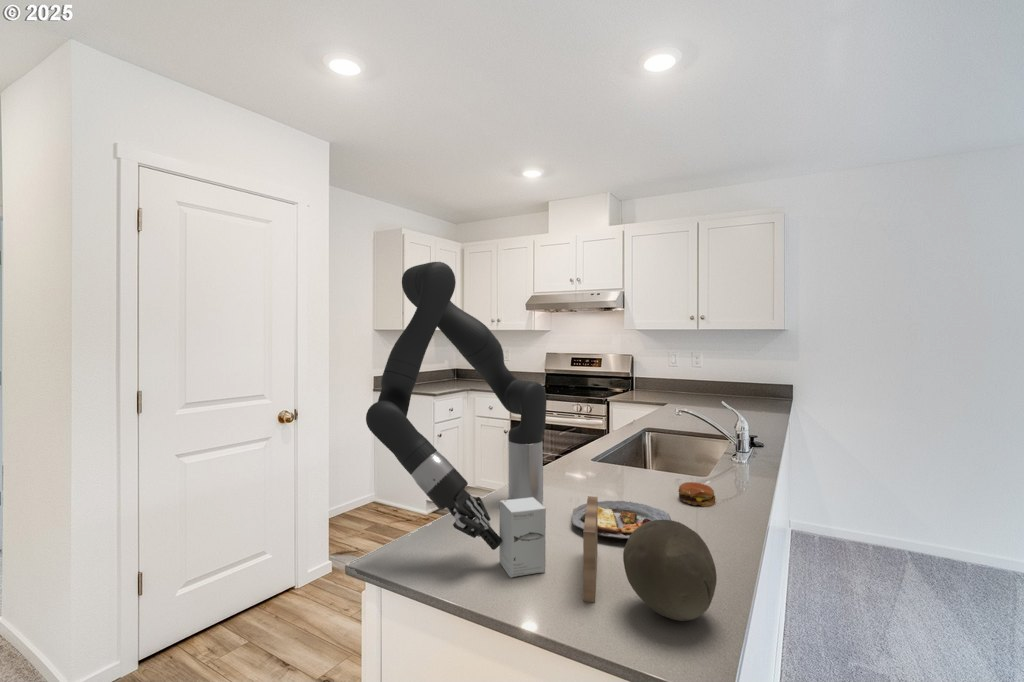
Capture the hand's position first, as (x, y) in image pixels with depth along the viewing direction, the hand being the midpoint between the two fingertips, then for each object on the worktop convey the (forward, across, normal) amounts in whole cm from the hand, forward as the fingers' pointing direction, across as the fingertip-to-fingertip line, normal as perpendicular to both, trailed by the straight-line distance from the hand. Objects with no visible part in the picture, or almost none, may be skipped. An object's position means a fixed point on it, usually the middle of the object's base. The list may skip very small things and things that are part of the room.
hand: (498, 545), depth 98 cm
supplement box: (+6, +1, 0) cm, 6 cm away
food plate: (+20, +27, -14) cm, 36 cm away
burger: (+35, +49, -29) cm, 66 cm away
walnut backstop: (+16, 0, -10) cm, 19 cm away
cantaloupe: (+25, -11, -19) cm, 33 cm away
